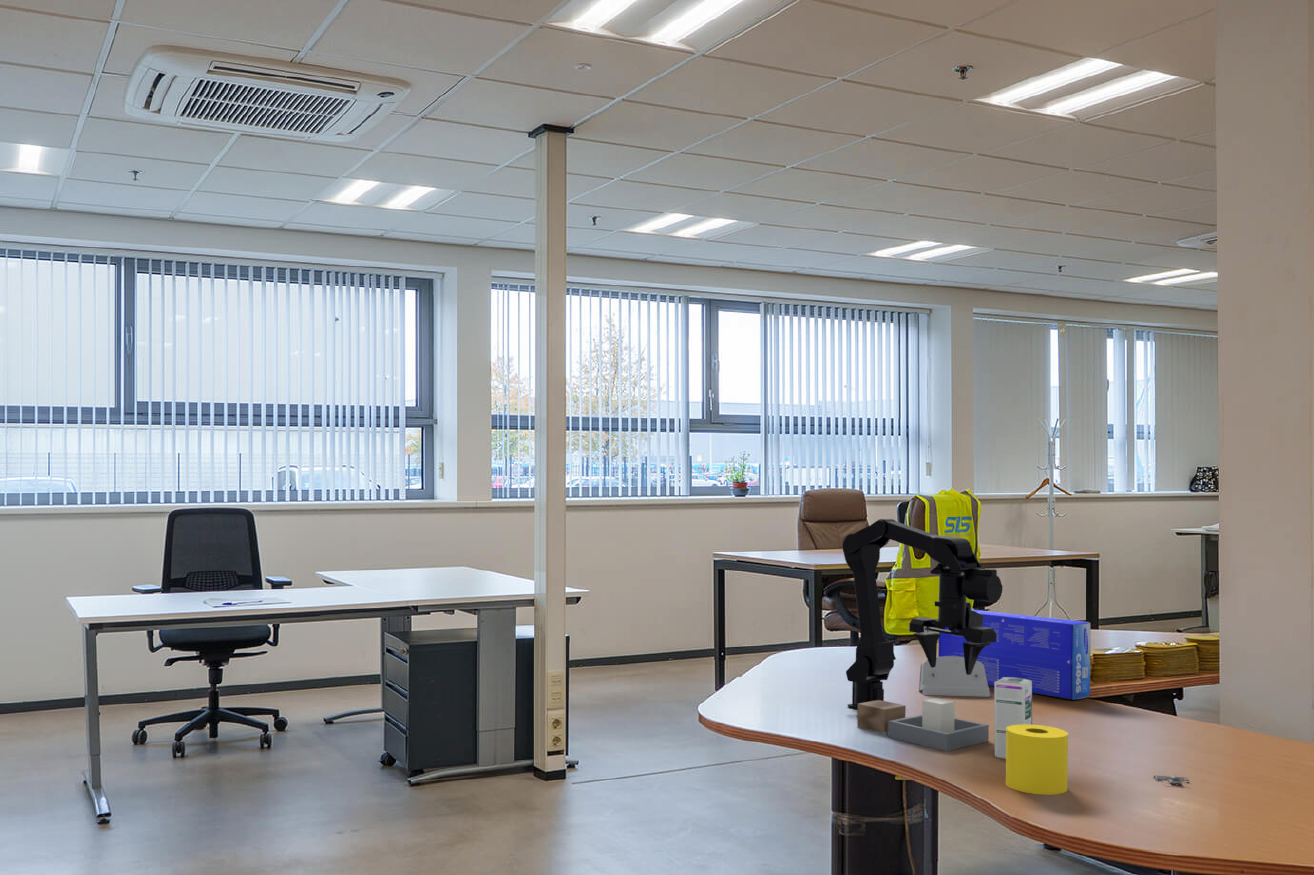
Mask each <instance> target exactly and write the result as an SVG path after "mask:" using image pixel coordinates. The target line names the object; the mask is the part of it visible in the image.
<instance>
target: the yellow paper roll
mask: <svg viewBox="0 0 1314 875" xmlns="http://www.w3.org/2000/svg"><path fill="white" fill-rule="evenodd" d="M1068 737H1069V733H1068V732H1067V731H1066V730H1064V729H1061V728H1059V727H1054V726H1048V725H1041V724H1032V725H1030V724H1019V725H1011V726H1008V727H1007V728H1006V759H1005V785H1006V786H1007V787H1008V788H1010V789H1013V790H1016V791H1018V792H1023V793H1027V794H1034V795H1045V796H1047V795H1049V796H1051V795H1059V794H1060V795H1061V794H1064V793H1067V791H1068V777H1069V775H1068V772H1069V769H1068V766H1069V764H1068V763H1069V762H1068V761H1069V760H1068V759H1069V758H1068V757H1069V754H1068V751H1069V750H1068V749H1069V746H1068V744H1069V738H1068Z"/></svg>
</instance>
